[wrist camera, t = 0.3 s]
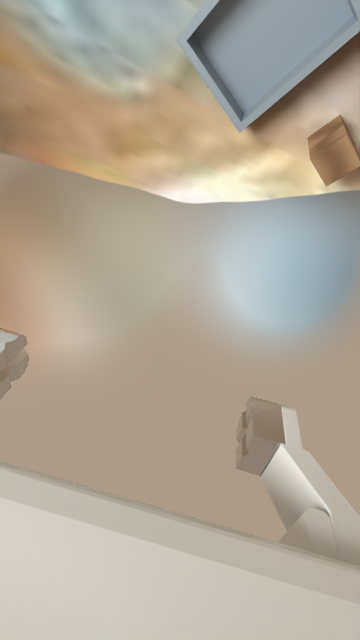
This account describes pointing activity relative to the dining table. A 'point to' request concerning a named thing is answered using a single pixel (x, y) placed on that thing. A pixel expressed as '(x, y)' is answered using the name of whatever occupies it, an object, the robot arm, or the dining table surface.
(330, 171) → the walnut block
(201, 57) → the box
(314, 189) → the dining table surface
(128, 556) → the robot arm
